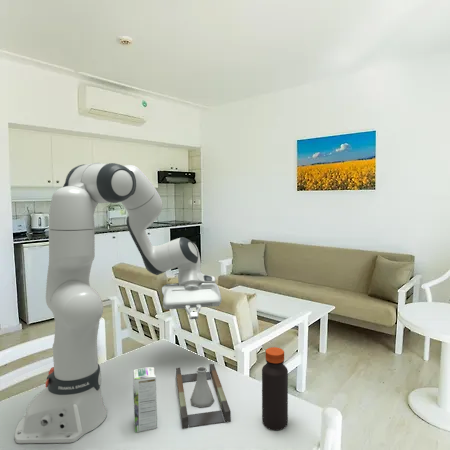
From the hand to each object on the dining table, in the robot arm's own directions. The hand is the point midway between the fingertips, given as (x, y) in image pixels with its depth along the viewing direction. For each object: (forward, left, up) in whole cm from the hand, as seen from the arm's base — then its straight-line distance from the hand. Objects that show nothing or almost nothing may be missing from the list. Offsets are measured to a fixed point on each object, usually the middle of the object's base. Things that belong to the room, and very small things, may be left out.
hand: (194, 318), depth 119 cm
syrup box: (-16, -23, -20) cm, 34 cm away
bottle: (+18, -30, -20) cm, 40 cm away
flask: (0, -16, -20) cm, 25 cm away
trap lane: (0, -13, -20) cm, 24 cm away
